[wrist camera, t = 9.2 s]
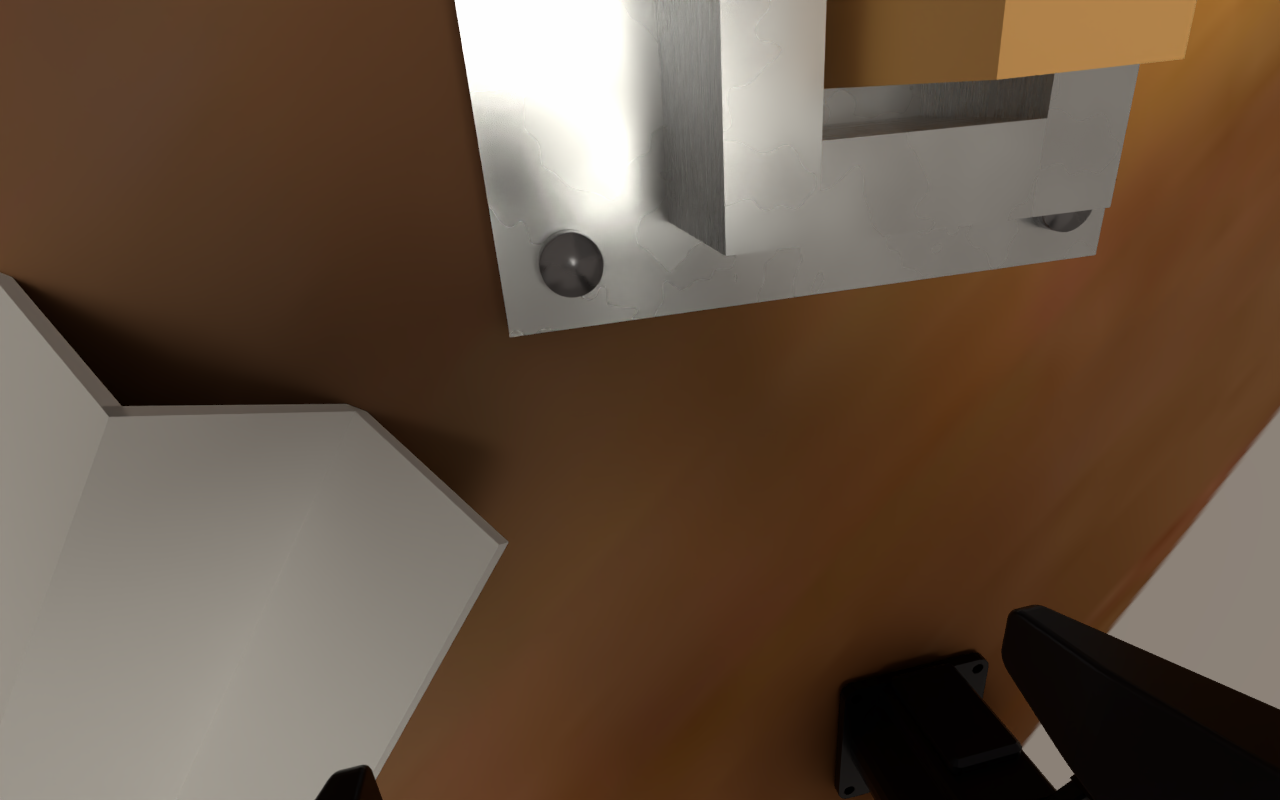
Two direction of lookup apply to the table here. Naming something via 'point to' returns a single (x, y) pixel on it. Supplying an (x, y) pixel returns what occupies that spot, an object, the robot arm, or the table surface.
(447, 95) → the table surface
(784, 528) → the table surface
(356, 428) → the z bracket
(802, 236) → the bracket collar
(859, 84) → the wedge pin
